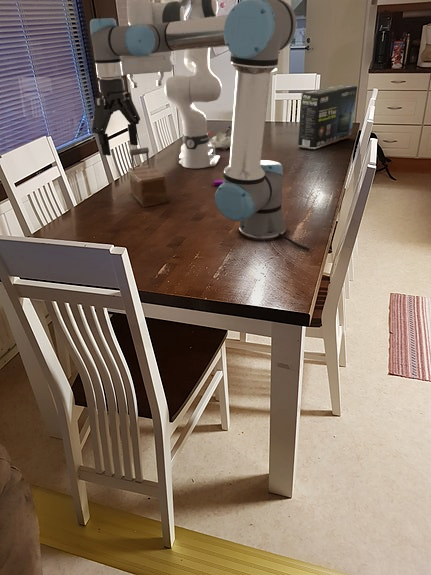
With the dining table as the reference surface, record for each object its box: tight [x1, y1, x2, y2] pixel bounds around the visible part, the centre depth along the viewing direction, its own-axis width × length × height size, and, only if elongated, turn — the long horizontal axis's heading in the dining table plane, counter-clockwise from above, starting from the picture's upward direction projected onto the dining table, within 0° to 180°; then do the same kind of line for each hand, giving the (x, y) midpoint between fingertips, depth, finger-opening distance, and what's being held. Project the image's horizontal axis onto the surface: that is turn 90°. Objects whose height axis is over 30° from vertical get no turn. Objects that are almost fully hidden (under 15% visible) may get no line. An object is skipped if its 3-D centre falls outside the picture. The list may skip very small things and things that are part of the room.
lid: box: [127, 147, 166, 183], centre depth 175 cm, size 18×10×9 cm, turn 24°
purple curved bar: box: [212, 179, 223, 186], centre depth 184 cm, size 21×8×2 cm, turn 11°
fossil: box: [209, 131, 232, 151], centre depth 246 cm, size 18×11×15 cm
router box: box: [297, 84, 358, 151], centre depth 238 cm, size 36×11×27 cm, turn 134°
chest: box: [128, 171, 168, 208], centre depth 179 cm, size 17×10×9 cm, turn 24°
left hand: (147, 86), depth 172 cm, fingers open, 8 cm apart
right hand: (120, 149), depth 148 cm, fingers open, 13 cm apart
